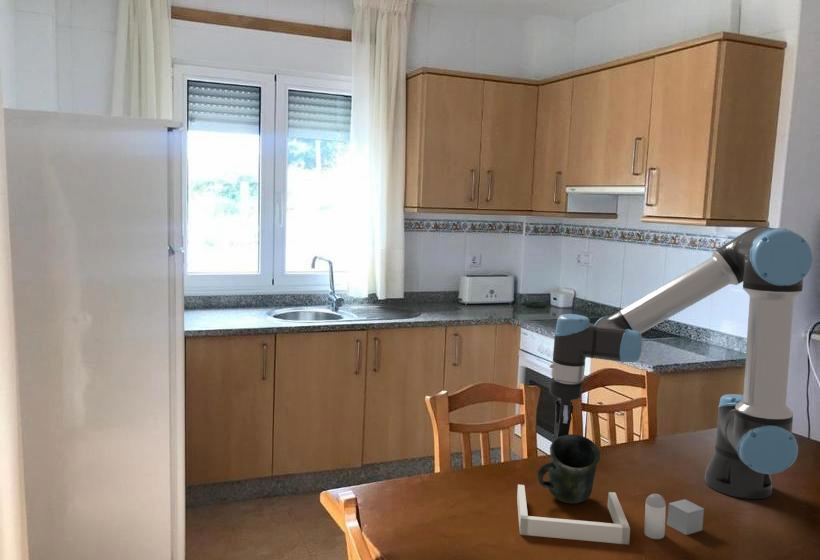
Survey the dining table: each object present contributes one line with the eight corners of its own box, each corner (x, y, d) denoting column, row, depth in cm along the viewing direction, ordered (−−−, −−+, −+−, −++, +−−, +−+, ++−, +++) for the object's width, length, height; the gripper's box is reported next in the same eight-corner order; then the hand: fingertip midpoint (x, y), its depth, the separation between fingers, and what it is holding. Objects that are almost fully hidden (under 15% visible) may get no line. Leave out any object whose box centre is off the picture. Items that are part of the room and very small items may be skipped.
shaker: (653, 526, 146) (655, 488, 144) (668, 535, 142) (670, 496, 141) (640, 532, 144) (641, 493, 142) (655, 541, 141) (657, 501, 139)
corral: (614, 507, 155) (615, 492, 155) (628, 544, 139) (630, 528, 138) (517, 498, 158) (517, 484, 157) (519, 534, 141) (520, 518, 141)
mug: (603, 498, 157) (610, 461, 151) (547, 516, 153) (552, 480, 147) (577, 464, 166) (583, 428, 160) (524, 481, 162) (528, 445, 155)
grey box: (701, 530, 146) (704, 508, 145) (685, 535, 144) (687, 513, 143) (682, 520, 150) (684, 499, 150) (666, 525, 148) (668, 503, 147)
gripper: (549, 370, 168) (539, 460, 172) (552, 385, 155) (542, 482, 159) (580, 373, 167) (570, 463, 171) (585, 389, 154) (575, 486, 158)
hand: (556, 472), depth 165 cm, fingers closed
